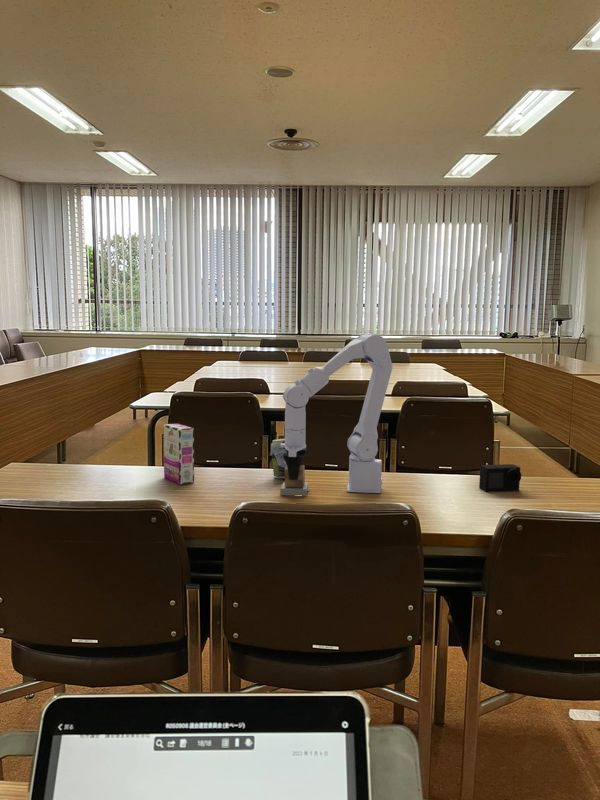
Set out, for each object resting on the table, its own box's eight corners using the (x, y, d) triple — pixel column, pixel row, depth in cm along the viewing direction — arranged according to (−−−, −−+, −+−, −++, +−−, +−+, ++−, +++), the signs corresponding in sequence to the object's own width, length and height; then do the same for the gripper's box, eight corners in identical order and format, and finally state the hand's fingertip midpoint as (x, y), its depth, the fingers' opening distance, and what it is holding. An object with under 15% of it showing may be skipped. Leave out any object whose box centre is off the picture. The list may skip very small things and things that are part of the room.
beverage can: (285, 481, 192) (285, 442, 190) (266, 477, 196) (266, 438, 195) (298, 477, 197) (298, 438, 195) (279, 473, 201) (279, 435, 200)
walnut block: (304, 482, 182) (304, 465, 182) (302, 487, 177) (302, 469, 177) (287, 482, 183) (286, 464, 182) (284, 486, 178) (284, 469, 177)
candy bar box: (195, 483, 190) (194, 427, 187) (179, 485, 187) (179, 429, 184) (178, 475, 198) (177, 422, 196) (163, 477, 195) (162, 424, 193)
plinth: (308, 489, 183) (308, 482, 183) (306, 496, 176) (306, 489, 176) (283, 488, 184) (283, 482, 184) (280, 495, 177) (280, 488, 177)
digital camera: (487, 493, 182) (488, 469, 181) (478, 488, 187) (479, 464, 186) (521, 492, 184) (522, 468, 183) (511, 487, 189) (513, 463, 188)
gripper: (283, 423, 185) (283, 470, 187) (277, 433, 171) (277, 483, 173) (308, 424, 185) (307, 471, 187) (303, 433, 170) (303, 483, 172)
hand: (294, 476), depth 180 cm, fingers closed on walnut block, 5 cm apart
